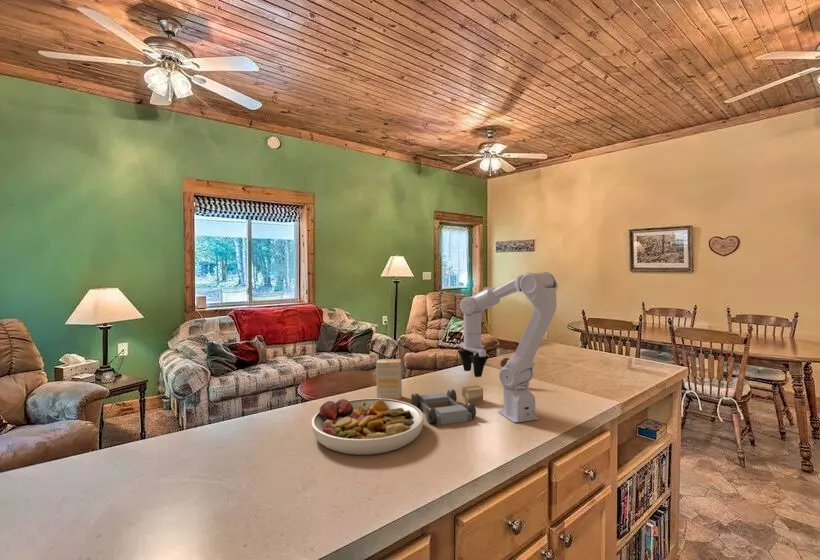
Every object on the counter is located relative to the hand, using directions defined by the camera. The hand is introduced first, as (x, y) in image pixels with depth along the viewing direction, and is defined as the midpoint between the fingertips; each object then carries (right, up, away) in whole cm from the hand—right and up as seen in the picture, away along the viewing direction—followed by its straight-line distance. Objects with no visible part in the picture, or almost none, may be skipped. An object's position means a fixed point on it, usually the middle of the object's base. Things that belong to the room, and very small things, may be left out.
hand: (472, 373), depth 136 cm
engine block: (0, -10, 0) cm, 10 cm away
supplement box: (-28, -10, +5) cm, 30 cm away
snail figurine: (+16, -9, +18) cm, 26 cm away
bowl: (-32, -11, -24) cm, 42 cm away
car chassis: (-11, -10, -9) cm, 17 cm away
